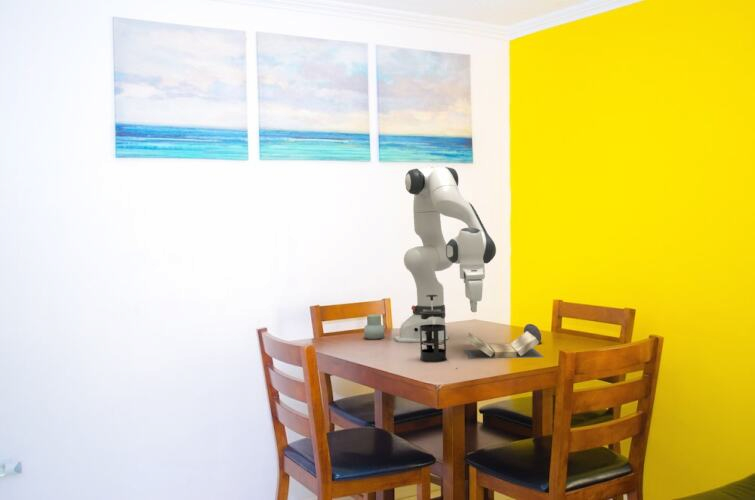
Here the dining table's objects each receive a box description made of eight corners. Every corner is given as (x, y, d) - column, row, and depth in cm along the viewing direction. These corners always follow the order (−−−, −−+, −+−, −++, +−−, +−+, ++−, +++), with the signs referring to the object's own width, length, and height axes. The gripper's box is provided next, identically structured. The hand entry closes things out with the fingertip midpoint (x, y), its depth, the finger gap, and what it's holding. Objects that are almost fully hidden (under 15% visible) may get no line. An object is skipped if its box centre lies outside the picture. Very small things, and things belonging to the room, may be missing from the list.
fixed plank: (495, 357, 243) (495, 352, 243) (488, 349, 259) (488, 344, 259) (516, 357, 243) (516, 351, 243) (508, 349, 259) (508, 343, 259)
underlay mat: (468, 361, 243) (468, 359, 243) (463, 352, 261) (463, 349, 261) (544, 359, 242) (544, 357, 242) (533, 350, 260) (533, 348, 260)
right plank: (530, 335, 259) (527, 331, 259) (539, 342, 243) (535, 337, 243) (512, 348, 259) (509, 343, 259) (520, 356, 243) (517, 351, 243)
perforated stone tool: (544, 346, 268) (544, 328, 267) (530, 347, 268) (530, 329, 267) (536, 340, 283) (535, 323, 282) (523, 340, 283) (522, 323, 282)
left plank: (471, 344, 244) (474, 339, 243) (466, 337, 260) (469, 332, 259) (490, 356, 244) (494, 352, 243) (484, 348, 260) (487, 344, 259)
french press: (450, 361, 243) (448, 295, 242) (424, 363, 241) (422, 296, 241) (441, 355, 255) (440, 292, 254) (416, 357, 253) (414, 293, 252)
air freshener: (383, 340, 294) (383, 316, 294) (364, 340, 294) (363, 317, 294) (384, 336, 305) (383, 313, 304) (365, 336, 305) (364, 313, 305)
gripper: (460, 272, 261) (462, 309, 261) (466, 275, 241) (468, 315, 241) (477, 271, 261) (479, 308, 261) (484, 274, 241) (486, 314, 241)
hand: (473, 311), depth 251 cm, fingers closed
